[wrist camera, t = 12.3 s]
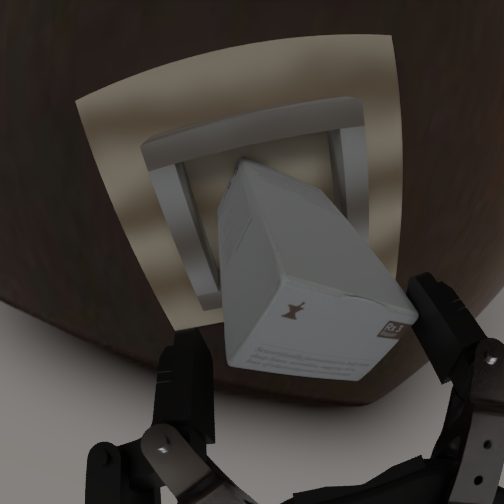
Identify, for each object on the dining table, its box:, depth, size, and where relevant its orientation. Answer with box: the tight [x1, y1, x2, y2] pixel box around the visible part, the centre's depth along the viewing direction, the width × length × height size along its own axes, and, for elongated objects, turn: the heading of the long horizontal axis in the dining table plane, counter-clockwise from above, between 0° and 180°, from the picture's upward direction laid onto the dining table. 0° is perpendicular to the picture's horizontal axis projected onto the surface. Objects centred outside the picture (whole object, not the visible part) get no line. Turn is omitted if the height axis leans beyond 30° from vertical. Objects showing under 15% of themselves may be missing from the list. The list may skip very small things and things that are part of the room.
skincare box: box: [217, 157, 418, 381], centre depth 14 cm, size 6×4×12 cm
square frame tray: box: [76, 34, 403, 330], centre depth 19 cm, size 20×20×4 cm
